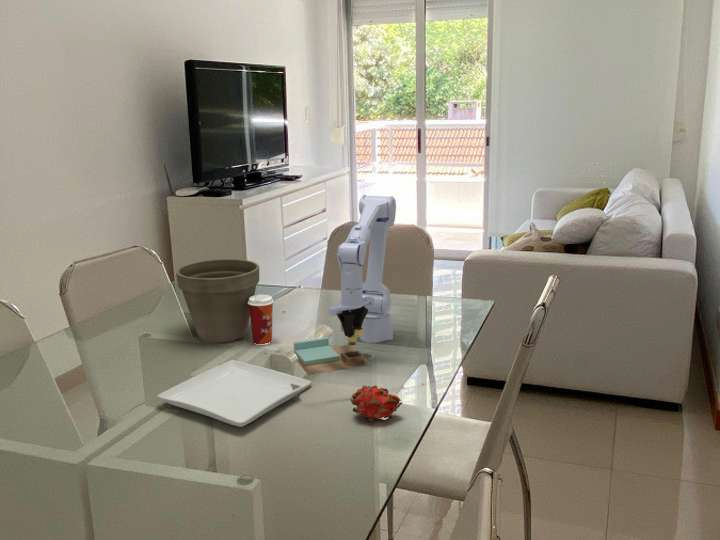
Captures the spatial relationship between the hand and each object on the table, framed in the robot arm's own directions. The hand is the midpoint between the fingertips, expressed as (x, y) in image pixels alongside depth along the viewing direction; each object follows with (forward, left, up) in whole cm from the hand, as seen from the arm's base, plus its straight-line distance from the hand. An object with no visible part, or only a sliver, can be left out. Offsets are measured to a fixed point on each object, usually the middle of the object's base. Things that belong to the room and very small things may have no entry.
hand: (352, 334), depth 190 cm
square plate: (+34, +8, -10) cm, 36 cm away
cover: (+8, -7, -8) cm, 13 cm away
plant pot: (+28, -39, -9) cm, 49 cm away
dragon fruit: (+6, +30, -9) cm, 32 cm away
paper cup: (+18, -28, -9) cm, 35 cm away
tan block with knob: (0, 0, -3) cm, 3 cm away
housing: (+5, -4, -9) cm, 11 cm away
